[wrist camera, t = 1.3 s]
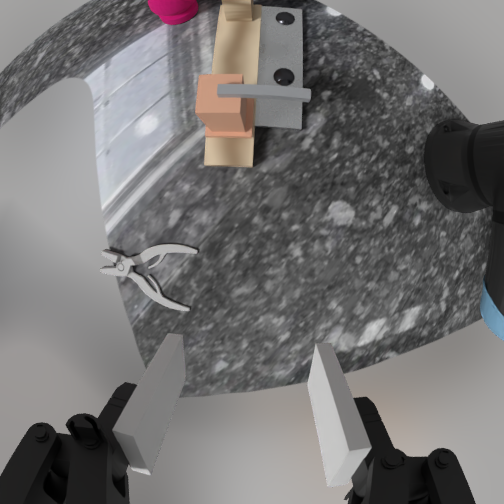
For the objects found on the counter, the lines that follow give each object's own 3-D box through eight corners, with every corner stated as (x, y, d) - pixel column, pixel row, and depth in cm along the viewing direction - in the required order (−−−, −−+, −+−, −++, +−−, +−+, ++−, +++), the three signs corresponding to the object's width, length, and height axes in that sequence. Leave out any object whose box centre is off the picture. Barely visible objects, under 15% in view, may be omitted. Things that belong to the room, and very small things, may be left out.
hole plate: (301, 12, 28) (302, 8, 27) (300, 130, 33) (301, 128, 32) (261, 9, 28) (261, 5, 27) (254, 127, 33) (254, 125, 32)
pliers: (187, 315, 38) (99, 291, 38) (189, 310, 40) (104, 287, 39) (196, 250, 36) (101, 230, 36) (198, 247, 37) (107, 228, 37)
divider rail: (294, 14, 28) (305, -38, 16) (291, 169, 34) (308, 159, 22) (222, 11, 28) (209, -40, 16) (207, 166, 34) (179, 154, 22)
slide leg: (295, 104, 30) (310, 70, 19) (294, 141, 31) (310, 120, 21) (209, 101, 30) (188, 66, 20) (207, 137, 31) (183, 115, 21)
